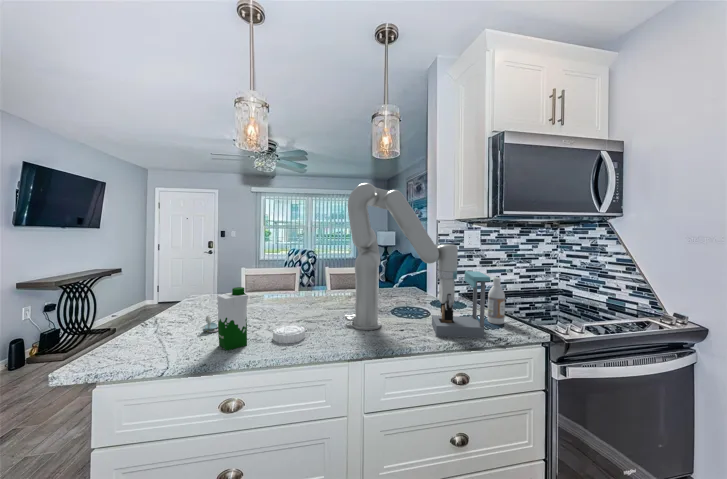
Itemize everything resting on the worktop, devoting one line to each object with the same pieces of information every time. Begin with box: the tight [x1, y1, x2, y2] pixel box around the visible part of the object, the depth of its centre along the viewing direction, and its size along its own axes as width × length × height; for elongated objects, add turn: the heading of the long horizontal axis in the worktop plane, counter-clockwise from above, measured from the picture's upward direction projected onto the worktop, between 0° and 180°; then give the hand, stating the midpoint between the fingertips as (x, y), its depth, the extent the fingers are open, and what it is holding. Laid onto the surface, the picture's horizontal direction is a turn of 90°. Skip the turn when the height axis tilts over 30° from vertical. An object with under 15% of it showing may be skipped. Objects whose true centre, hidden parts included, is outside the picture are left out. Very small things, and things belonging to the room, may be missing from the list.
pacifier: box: [202, 315, 218, 333], centre depth 123 cm, size 7×6×6 cm
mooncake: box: [272, 324, 306, 344], centre depth 117 cm, size 12×12×4 cm
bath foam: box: [487, 276, 506, 325], centre depth 137 cm, size 7×7×20 cm
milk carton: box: [216, 286, 249, 351], centre depth 108 cm, size 9×9×20 cm
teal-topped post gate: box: [464, 270, 491, 328], centre depth 124 cm, size 6×15×24 cm, turn 174°
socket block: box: [431, 314, 485, 339], centre depth 125 cm, size 18×14×4 cm
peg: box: [441, 305, 452, 323], centre depth 126 cm, size 4×4×10 cm
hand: (446, 316), depth 126 cm, fingers open, 9 cm apart
